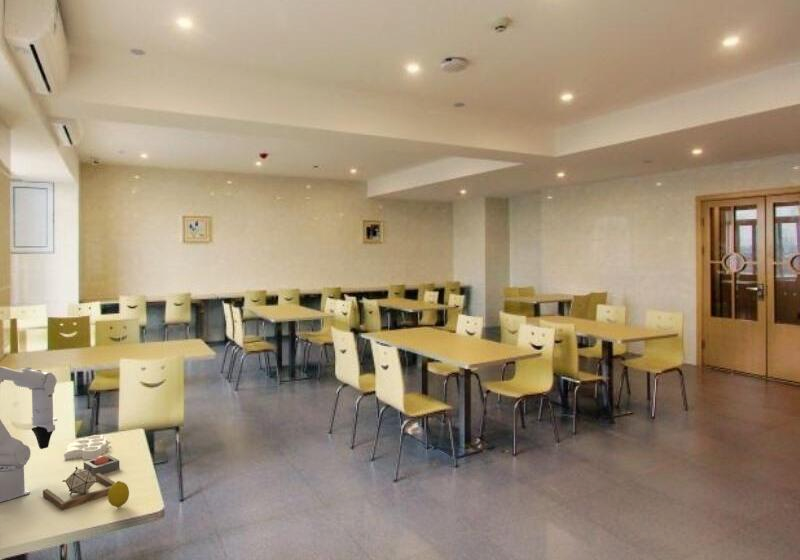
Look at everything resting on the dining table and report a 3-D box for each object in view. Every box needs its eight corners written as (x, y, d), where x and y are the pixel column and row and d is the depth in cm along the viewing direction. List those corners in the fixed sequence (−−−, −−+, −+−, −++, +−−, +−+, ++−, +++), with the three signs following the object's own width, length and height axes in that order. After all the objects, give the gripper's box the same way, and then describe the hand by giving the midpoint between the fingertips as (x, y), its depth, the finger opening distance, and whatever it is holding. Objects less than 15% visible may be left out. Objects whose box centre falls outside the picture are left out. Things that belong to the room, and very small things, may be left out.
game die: (88, 503, 168) (109, 475, 170) (69, 505, 160) (91, 476, 162) (69, 485, 170) (90, 458, 172) (50, 487, 162) (72, 459, 164)
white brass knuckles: (69, 446, 206) (112, 441, 212) (63, 463, 190) (109, 457, 196) (69, 438, 206) (112, 433, 212) (62, 454, 189) (109, 448, 196)
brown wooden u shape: (61, 510, 155) (61, 504, 155) (43, 496, 164) (42, 490, 164) (119, 490, 168) (119, 484, 168) (99, 478, 177) (99, 472, 177)
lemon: (124, 501, 162) (123, 475, 161) (132, 507, 158) (132, 480, 158) (104, 508, 157) (104, 481, 157) (113, 514, 154) (112, 487, 153)
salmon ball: (97, 472, 181) (97, 459, 181) (92, 468, 184) (91, 456, 184) (111, 468, 185) (111, 455, 184) (105, 464, 187) (105, 452, 187)
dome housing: (94, 476, 179) (94, 467, 178) (83, 470, 184) (83, 461, 183) (119, 468, 185) (119, 460, 185) (108, 462, 190) (108, 454, 190)
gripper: (64, 409, 177) (65, 449, 177) (47, 401, 185) (48, 439, 186) (40, 414, 171) (41, 455, 172) (24, 405, 180) (25, 445, 181)
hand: (43, 447), depth 179 cm, fingers closed
